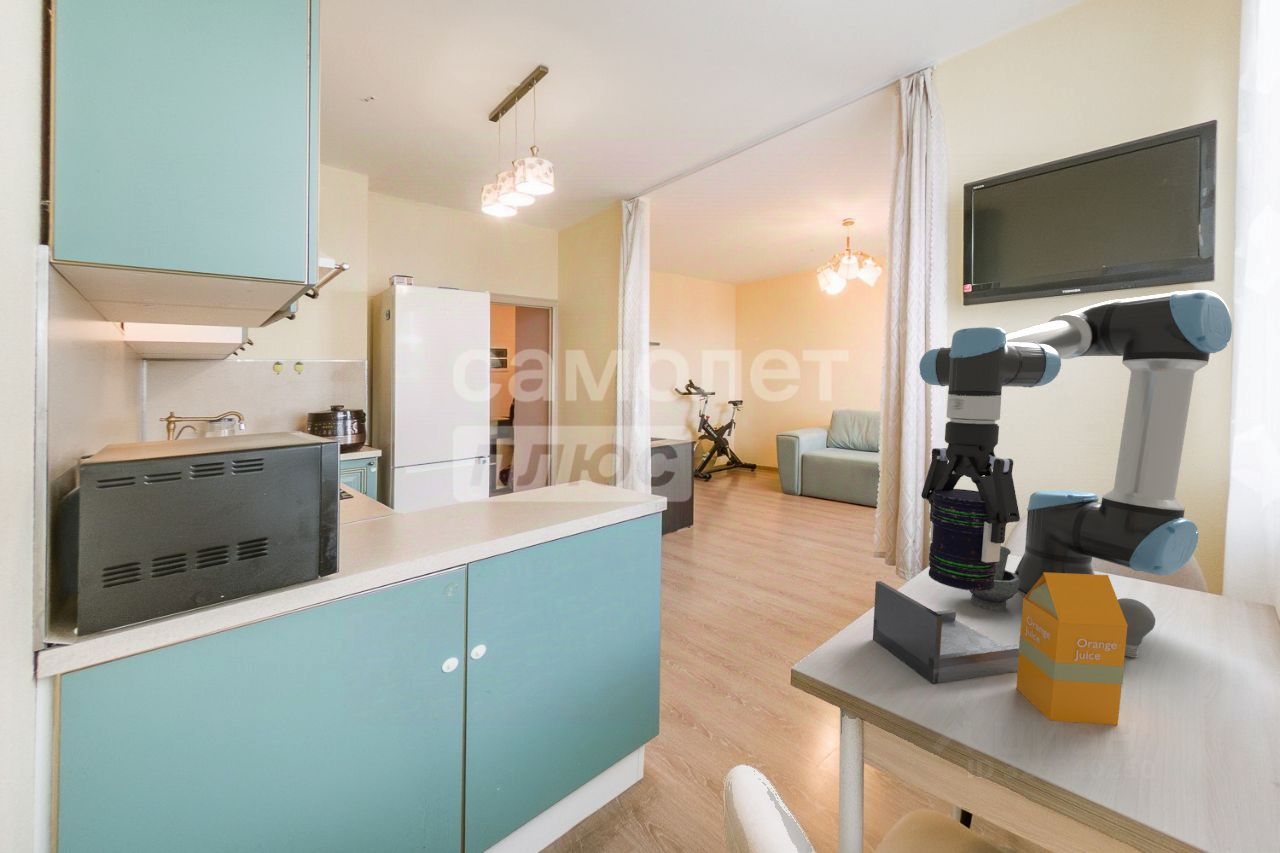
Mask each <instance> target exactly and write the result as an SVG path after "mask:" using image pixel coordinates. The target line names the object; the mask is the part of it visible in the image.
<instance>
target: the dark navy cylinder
mask: <svg viewBox="0 0 1280 853" xmlns="http://www.w3.org/2000/svg"><path fill="white" fill-rule="evenodd" d="M933 504H934V505H932V517H931V518H932V521H931V524H932V523H933V537H932V541H931V543H930V545H929V553H928V561H929V562H928V566H929V569H928V576H929V578H931V579H932V580H933V581H935V582H937V583H940V584H942V585H944V586H947V587H951V588H954V589H959V590H962V591H963V590H964V591H969V590H970V591H988V590H992V589H993V588H994V586H995V582H994V578H995V573H996V570H997V564H996V563H997V562H983V561H982V547H983V534H984V522H986V521H987V520H989V517H988V515H987V512H986V510H985V507H984V506H985V501H982V499H981V497H980V494H979V491H978V490H970V489H963V488H954V489H953V490H943V491H941V490H939V489H937V490H934V499H933ZM997 515H998V514H997ZM970 591H969V592H970Z"/></svg>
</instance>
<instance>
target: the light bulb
mask: <svg viewBox="0 0 1280 853" xmlns="http://www.w3.org/2000/svg"><path fill="white" fill-rule="evenodd" d="M1117 600H1118V602H1119V605H1120V607H1121V610H1122V612H1123V615H1124V618H1125V620H1126V623H1127V625H1128V626H1127V635H1126V646H1125V656H1124V657H1128V658H1132V657H1133V658H1134V657H1135V658H1136V657H1138V655H1139V646H1140V645H1141V644H1142V642H1143V639H1144V637H1145V636H1147V635H1148V634H1149V633H1151V631H1153V629H1154V628H1155V625H1156V617H1155V615H1154V613H1153V611H1152V610H1151V609H1150V607H1148V606H1147V605H1146V604H1144V603H1143V602H1141V601H1139V600H1136V599H1133V598H1125V597H1124V598H1117Z"/></svg>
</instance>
